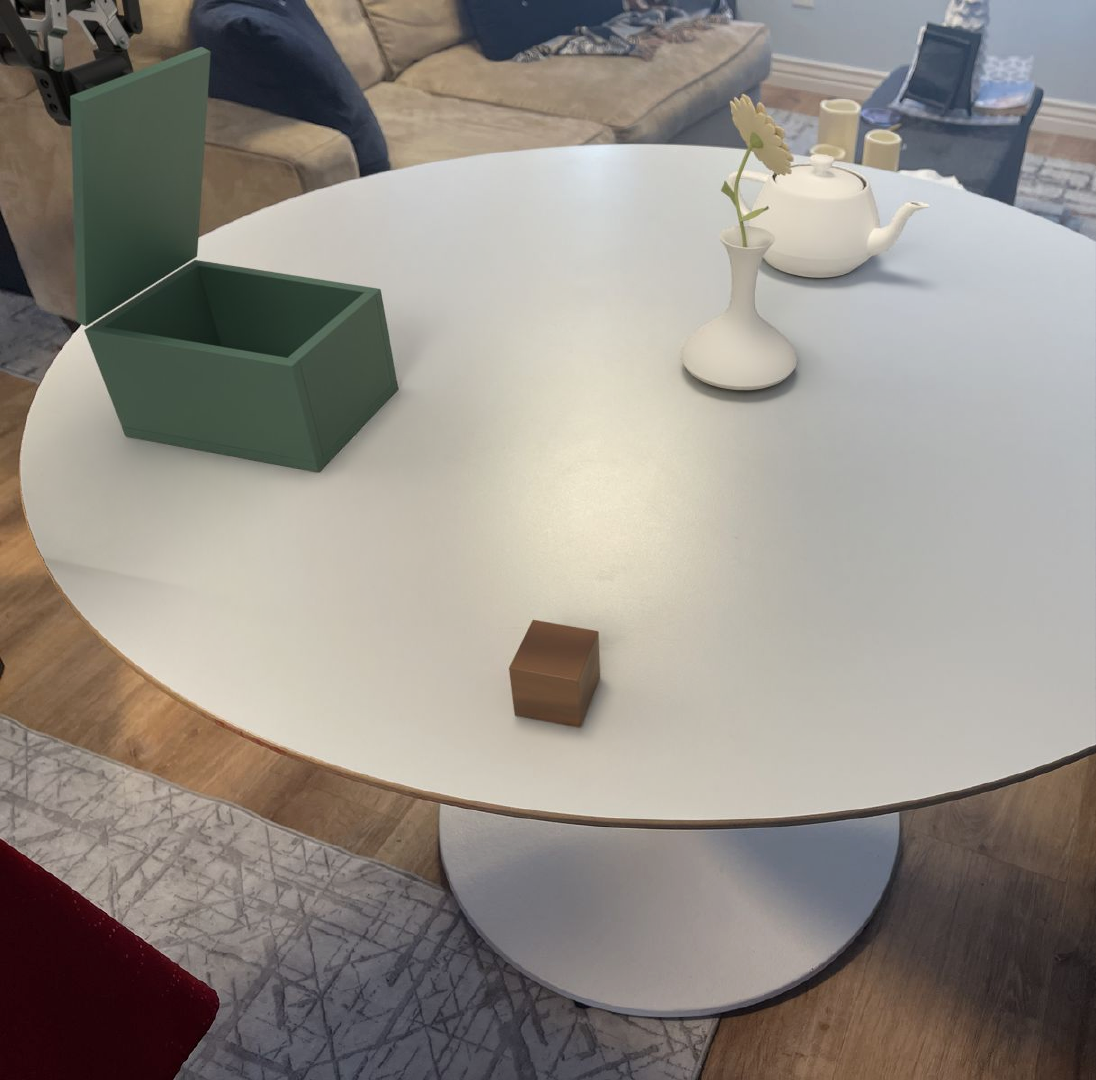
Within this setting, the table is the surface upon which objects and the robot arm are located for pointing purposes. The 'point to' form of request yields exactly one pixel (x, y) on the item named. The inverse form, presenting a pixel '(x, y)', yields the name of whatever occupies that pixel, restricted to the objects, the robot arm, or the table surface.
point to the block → (555, 673)
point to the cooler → (247, 363)
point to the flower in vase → (745, 281)
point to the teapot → (821, 218)
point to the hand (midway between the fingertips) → (99, 112)
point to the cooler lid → (135, 174)
